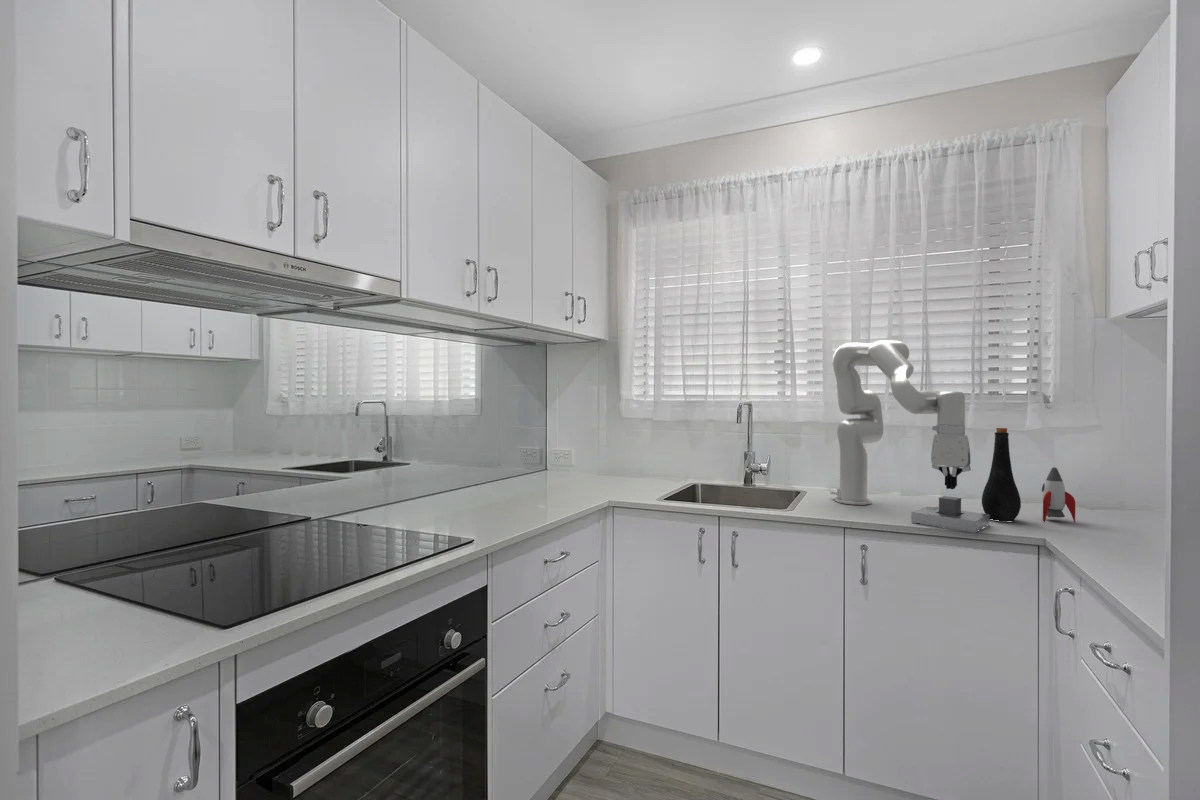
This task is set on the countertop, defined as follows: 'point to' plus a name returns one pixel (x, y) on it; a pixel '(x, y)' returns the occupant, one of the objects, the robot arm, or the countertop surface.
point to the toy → (1056, 496)
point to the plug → (950, 506)
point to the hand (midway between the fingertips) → (950, 488)
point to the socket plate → (950, 519)
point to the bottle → (1001, 483)
